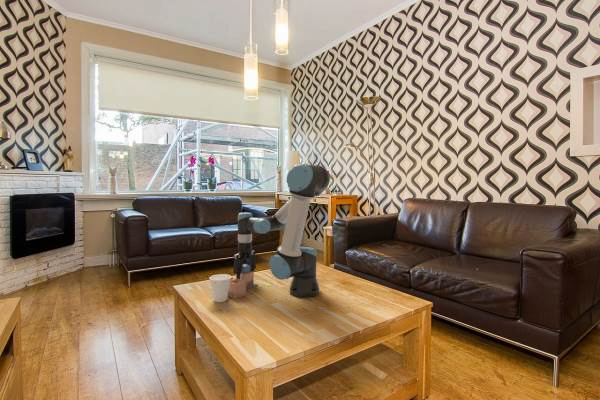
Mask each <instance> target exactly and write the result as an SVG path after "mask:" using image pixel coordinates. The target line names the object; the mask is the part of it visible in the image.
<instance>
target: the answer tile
mask: <svg viewBox="0 0 600 400" xmlns="http://www.w3.org/2000/svg"><path fill="white" fill-rule="evenodd" d="M258 286H259V284H258V283H254V285H251V286H248V287H246V291H247V290H249V289H252V288H256V287H258Z"/></svg>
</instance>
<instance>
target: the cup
mask: <svg viewBox="0 0 600 400" xmlns="http://www.w3.org/2000/svg"><path fill="white" fill-rule="evenodd" d="M231 277H232V276H231V275H230V274H226V273H223V274H222V273H220V274H213V275H211V276H209V280H210V287H211V291H212V299H213V301H214V302H215V303H224V302H226V301H227V300H228V298H229V296H228V291H229V285H230V279H231Z"/></svg>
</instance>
